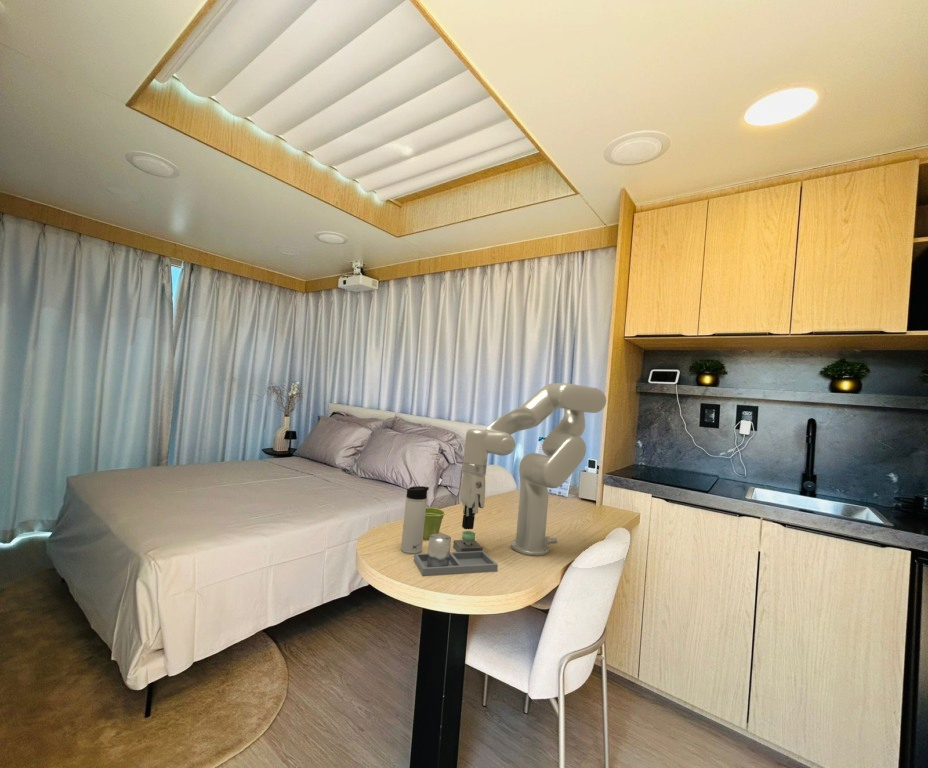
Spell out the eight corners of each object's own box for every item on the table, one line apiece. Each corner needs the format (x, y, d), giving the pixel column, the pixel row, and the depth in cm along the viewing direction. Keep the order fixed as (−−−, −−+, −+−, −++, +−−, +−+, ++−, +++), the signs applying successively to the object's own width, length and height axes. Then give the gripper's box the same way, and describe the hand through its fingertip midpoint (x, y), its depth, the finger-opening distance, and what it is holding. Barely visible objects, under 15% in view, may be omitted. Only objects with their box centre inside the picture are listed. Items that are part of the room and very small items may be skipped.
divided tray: (482, 559, 120) (483, 550, 121) (497, 574, 111) (497, 564, 111) (413, 563, 113) (414, 553, 113) (422, 579, 104) (423, 568, 104)
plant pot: (441, 543, 131) (444, 516, 131) (413, 540, 131) (415, 513, 132) (443, 534, 140) (445, 509, 141) (416, 531, 140) (419, 506, 141)
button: (471, 546, 127) (472, 530, 127) (475, 550, 123) (477, 535, 123) (459, 546, 125) (460, 531, 125) (463, 551, 121) (465, 535, 122)
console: (473, 549, 128) (474, 539, 129) (481, 557, 122) (482, 547, 122) (452, 549, 126) (453, 540, 126) (460, 558, 119) (461, 548, 120)
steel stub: (444, 561, 114) (447, 533, 114) (451, 570, 108) (454, 540, 109) (424, 562, 112) (427, 533, 112) (430, 572, 106) (432, 541, 107)
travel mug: (418, 558, 117) (425, 489, 118) (397, 554, 118) (404, 486, 119) (425, 551, 123) (431, 485, 124) (404, 547, 124) (411, 482, 125)
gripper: (495, 474, 119) (488, 536, 118) (476, 465, 133) (469, 521, 132) (471, 473, 117) (464, 536, 116) (455, 464, 131) (448, 520, 130)
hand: (467, 528), depth 124 cm, fingers closed
